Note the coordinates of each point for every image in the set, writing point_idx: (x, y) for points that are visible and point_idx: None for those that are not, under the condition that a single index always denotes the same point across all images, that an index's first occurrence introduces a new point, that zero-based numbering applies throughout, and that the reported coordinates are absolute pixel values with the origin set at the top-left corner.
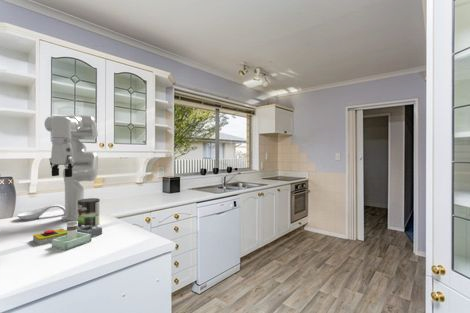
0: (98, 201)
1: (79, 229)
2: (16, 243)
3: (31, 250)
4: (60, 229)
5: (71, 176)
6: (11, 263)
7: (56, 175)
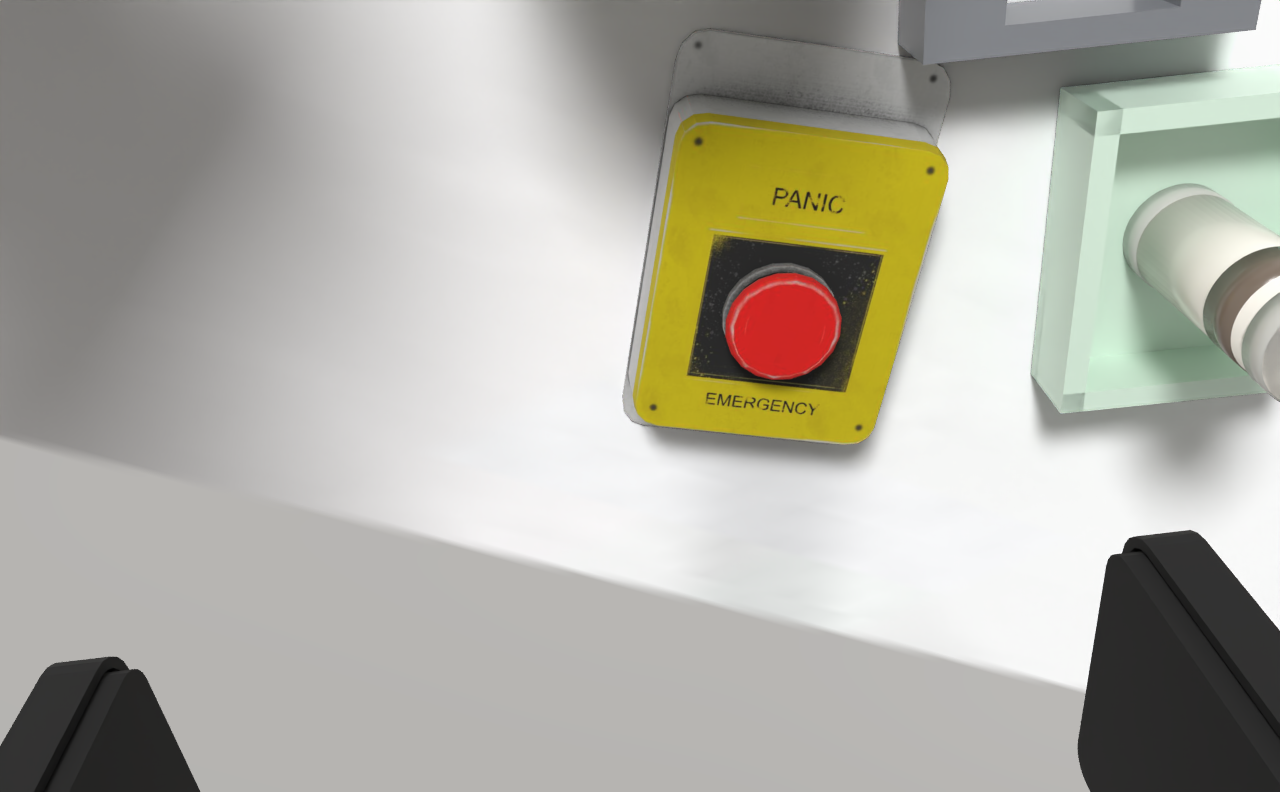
0: None
1: (1019, 30)
2: (577, 495)
3: (935, 499)
4: (709, 151)
5: (1188, 550)
6: (1073, 655)
7: (181, 755)
